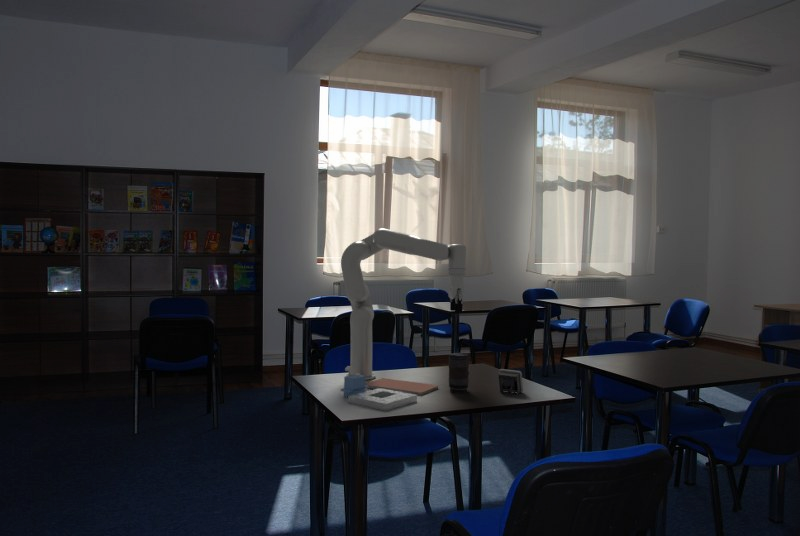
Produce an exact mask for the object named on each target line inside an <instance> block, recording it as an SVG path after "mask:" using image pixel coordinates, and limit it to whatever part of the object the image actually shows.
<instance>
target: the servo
mask: <svg viewBox="0 0 800 536" xmlns="http://www.w3.org/2000/svg"><path fill="white" fill-rule="evenodd" d="M343 379H344V385H343V386H344V388H340V392H344V393H343V397H345V396H350V395H354V394H358V393H362V392H366V390H367V389H369V386H367V385H365V384H366V380H365V376H363V375H360V373H356V375H352V376H347V375H346V376H344V377H343ZM366 388H367V389H366Z"/></svg>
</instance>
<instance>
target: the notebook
mask: <svg viewBox="0 0 800 536" xmlns="http://www.w3.org/2000/svg"><path fill="white" fill-rule="evenodd" d="M365 385H367V386H369V388H368V390H372V389H373V390H374V389H378V388H383V389H388V390H393V391H398V392H404V393H409V394H414V395H417V397H418V396H419V397H421V396H424V395H426V394H428V393H430V392H433V391H436V390H438V389H439V387H440V385H439V384H438V385H437V384H432V383H431V384H430V383H426V382H425V383H423V382H417V381H415V382H414V381H410V380H409V381H408V380H401V379H391V378H386V377H385V378H384V377H382V378H379V379H376V380H373V381H370V382H365ZM370 388H372V389H370Z"/></svg>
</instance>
